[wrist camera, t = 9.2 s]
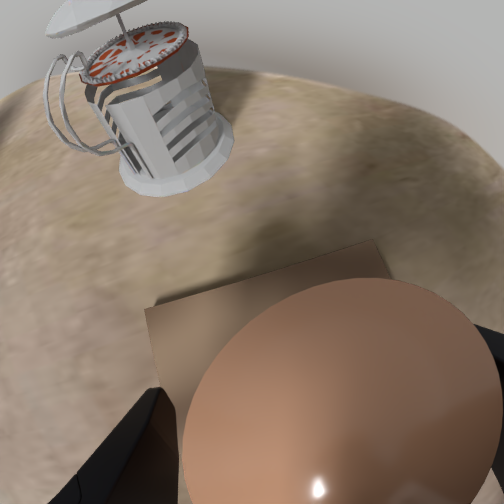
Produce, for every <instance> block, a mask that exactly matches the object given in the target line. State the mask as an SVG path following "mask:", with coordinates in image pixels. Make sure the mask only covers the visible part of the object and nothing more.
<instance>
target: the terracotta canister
mask: <svg viewBox="0 0 504 504" xmlns="http://www.w3.org/2000/svg"><path fill="white" fill-rule="evenodd" d="M502 417H503V401H502V389H501V384H500V378H499V373H498V370H497V367H496V364H495V361H494V358H493V356H492V354H491V352H490V350H489V348H488V346H487V344H486V342H485V340H484V339H483V337H482V336H481V334H480V333H479V331H478V330H477V328H476V327H475V326H474V325H473V323H472V322H471V321H470V320H469V319H468V318H467V317H466V316H465V315H464V314H463V313H462V312H461V311H460V310H458V309H457V308H456V307H455V306H454V305H452V304H451V303H450V302H448V301H447V300H445V299H443V298H442V297H440V296H438V295H437V294H435V293H433V292H431V291H429V290H426V289H424V288H421V287H419V286H417V285H413V284H409V283H406V282H402V281H398V280H391V279H382V278H353V279H346V280H338V281H333V282H329V283H325V284H322V285H318V286H314V287H311V288H309V289H306V290H304V291H301V292H299V293H296V294H294V295H291V296H289V297H288V298H286V299H284V300H282V301H280V302H278V303H277V304H275V305H273V306H271V307H269V308H268V309H267V310H265V311H264V312H262V313H261V314H260V315H258V316H257V317H255V318H254V319H253V320H251V321H250V322H249V323H248V324H247V325H246V326H244V327H243V328H242V329H241V330H240V331H239V332H238V333H237V334H236V335H234V336H233V337H232V339H231V340H230V341H229V342H228V343H227V344H226V345H225V347H224V348H223V349H222V350H221V351H220V352H219V353H218V355H217V356H216V357H215V359H214V360H213V362H212V363H211V365H210V366H209V368H208V369H207V371H206V372H205V374H204V376H203V378H202V380H201V382H200V384H199V386H198V388H197V390H196V392H195V394H194V396H193V399H192V402H191V405H190V408H189V411H188V414H187V418H186V423H185V429H184V434H183V451H182V461H183V468H184V476H185V481H186V485H187V488H188V491H189V494H190V498H191V500H192V502H193V504H471V502H472V501H473V500H474V498H475V497H476V495H477V494H478V492H479V490H480V488H481V487H482V485H483V483H484V482H485V479H486V477H487V475H488V473H489V471H490V468H491V466H492V464H493V461H494V458H495V455H496V451H497V448H498V444H499V439H500V434H501V429H502Z"/></svg>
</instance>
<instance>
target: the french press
mask: <svg viewBox="0 0 504 504" xmlns="http://www.w3.org/2000/svg"><path fill="white" fill-rule="evenodd" d="M145 1H147V0H67V1H66V2H65V3H64V4H63V5H62V6H61V7H60V8H59V9H58V10H57V12H56V13H55V14H54V16H53V18H52V20H51V21H50V23H49V25H48V27H47V29H46V33H45V34H46V36H48V37H50V38H63V37H66V36H69V35H72V34H74V33H77V32H80V31H83V30H85V29H87V28H89V27H91V26H93V25H95V24H97V23H100V22H102V21H104V20H106V19H108V18H111V17H113V16H115V15H116V17H117V19H118V22H119V24H120V26H121V29H122V31H123V35H122V34H120V36H119V37H117V36H116V37H115V39H111V40H110V41H107V44H104V45H103V46H101V47H100V48H99V49H96V50H95V51H94V52H93V53H92V55H90V57H88V59H86V58H85V56H84V55H83V53H82V52H79V51H77V52H75V53H74V54H72V55H71V56H70V58H69V60H68V59H67V58H66V56H65V55H61V54H60V55H59V56H57V57H56V58H55V59H54V61H53V62H52V65H51V67H50V69H49V71H48V73H47V75H46V77H45V83H44V91H43V100H44V107H45V113H46V117H47V120H48V123H49V126H50V127H51V128H52V130H53V131H54V132H55V134H56V135H57V136H58V137H59V139H60V140H61V141H62V142H63V143H65V144H66V145H68V146H69V147H71V148H72V149H75V150H78V151H82V152H87V151H88V152H90V153H93V154H95V155H98V156H103V155H109V154H114V153H116V152H119V153H120V155H121V157H120V166H119V172H120V174H121V176H122V179H123V181H124V183H125V185H126V186H127V187H129V188H131V189H132V190H134V191H135V192H137V193H138V194H140V195H146V196H155V197H166V196H170V195H174V194H178V193H182V192H187V191H189V190H191V189H193V188H194V187H196V186H198V185H199V184H201V183H203V182H205V181H206V180H208V179H210V178H211V177H212V176H213V175H214V174H215V173H216V172H217V171H218V170H219V169H220V167H221V166H222V165H223V164H224V163H225V162H226V161H227V160H228V157H229V154H230V152H231V149H232V146H233V143H234V137H233V132H232V127H231V124H230V123H229V122H228V121H227V120H226V119H225V118H224V117H223V116H222V115H221V114H220V113H218V112H215V110H214V106H213V104H212V98H211V94H210V92H209V86H208V83H207V79H206V78H205V70H204V67H203V63H202V59H201V55H200V52H199V48H198V45H197V44H196V43H194V42H193V41H191V40H189V39H188V36H189V34H188V27H186V26H184V25H183V24H181V23H179V22H168V21H167V22H162V23H161V22H159V23H155V24H152V23H151V25H148V24H147V25H146V26H142V27H140V28H139V27H138V28H137V29H133V30H132V31H130V30H128V32H126V30H125V27H124V25H123V22H122V20H121V17H120V14H119V13H121V12H123V11H125V10H127V9H130V8H132V7H134V6H136V5H139V4H141V3H143V2H145ZM77 56H79V57H80V59H81V61H82V63H83V66H82V67H73V66H72V65H71V64H72V62H73V60H74V58H75V57H77ZM59 59H62V60H63V61H64V62H65V64H66V67H65V69H64V72H63V74H62V76H61V83H60V94H59V101H60V109H61V113H62V116H63V119H64V123H65V126H66V129H67V131H68V132H69V133H70V135H71V136H72V137H73V139H74V140H75V141H76V142H77V144H78V145H79V146H78V145H76V144H73V143H71V142H69V141H68V139H67V138H66V137H65V136H64V135H63V134H62V133H61V131H60V130H59V129H58V128H57V127H56V126H55V125H54V122H53V119H52V116H51V113H50V109H49V102H48V87H49V79H50V75H51V73H52V71H53V68H54V66H55V64H56V61H58V60H59ZM156 66H157V67H158V68H157V69H155V70H153V71H151V72H149V73H148V74H145V75H142V76H139V77H135V76H138V75H140V74H142V73H144V72H146V71H148V70H150V69H152V68H153V67H156ZM69 69H70V70H72V71H75V72H77V71H80V73H79V76H80V79H81V82H83V83H85V84H87V86H86V89H85V96H86V98H87V101H88V103H89V104H90V106H91V108H92V109H93V111H94V113H95V114H96V116H97V118H98V119H99V121H100V122H101V124H102V126H103V127H104V129H105V130H106V132H107V134H108V135H109V137H110V138H111V139H109V140H107V141H105V142H103V143H101V144H99V145H96V146H94V147H89V146H88V145H86V144H84V143H83V142H81V140H80V139H79V137H78V136H77V134H76V133H75V131H74V130H73V128H72V127H71V125H70V124H69V120H68V116H67V113H66V109H65V105H64V90H65V81H66V74H67V72H68V70H69ZM159 75H161V77H162V81H160V82H158V83H156V84H154V85H152V86H149V87H146V88H143V89H140V90H136V91H133V92H130V93H126V94H123V95H120V96H116V97H115V98H114V99H113V100H112V101H111V102H110V103H109V104H108V105H105V106H106V108H107V109H106V114H105V118H104V116H103V114H102V112H101V111H102V107H103V103H104V100H105V98H106V97H107V96H109V95H110V94H111V93H112V92H113V91H115V90H119V89H122V88H126V87H130V86H134V85H137V84H140V83H143V82H146V81H149V80H151V79H153V78H155V77H157V76H159ZM133 77H135V78H133ZM130 78H132V79H130ZM128 79H129V80H128ZM202 80H203V81H204V82H205V83H206V84H207V85H206V86H204V85H203V83H202ZM110 84H111V85H110ZM103 85H109V86H108V87H107V88H106V89H104V90H103V91H102V92H101V94H100V97H99V101H98V104H97V105H96V104H94V97H95V93H96V90H97V87H98V86H103ZM207 94H208V96H209V97H210V98H211V99H210V100H209V99H208V98H207V97H206V95H207ZM140 96H141V97H140ZM133 98H134V99H133ZM129 99H131V100H129ZM126 100H128V101H126ZM123 101H125V102H123ZM169 101H171V103H169V104H167V105H165V104H166V103H168V102H169ZM120 102H122V103H120ZM119 103H120V104H119ZM164 105H165V106H164ZM211 107H212V109H213V111H212V110H210V108H211ZM110 115H111V117H112V118H113V124H112V129H111V128H110V126H109V120H110ZM117 127H118V129H119V130H120V131H119V137H118V139H117V138H116V135H115V134H116V129H117ZM108 143H113V144H114V146H115V147H116V149H114V150H111V151H103V152H101V151H98V150H97V149H99V148H101V147H103V146H104V145H106V144H108Z"/></svg>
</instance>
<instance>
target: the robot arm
mask: <svg viewBox="0 0 504 504" xmlns="http://www.w3.org/2000/svg"><path fill="white" fill-rule="evenodd" d="M473 325H474V326H475V327H476V328H477V330H478V331H479V333H480V334H481V336H482V337H483V339H484V340H485V342H486V344H487V346H488V348H489V350H490V352H491V354H492V356H493V358H494V361H495V364H496V367H497V370H498V373H499V378H500V384H501V389H502V401H503V417H502V429H501V434H500V439H499V444H498V448H497V451H496V455H495V458H494V461H493V464H492V466H491V468H492V470H493V472H494V474H495V476H496V478H497V480H498V482H499V484H500V486H501V487H502V488H501V489H502V491H503V493H504V334H502V333H499V332H496V331H493V330H490V329H487V328H484V327H481V326H478V325H475V324H473ZM178 473H179V451H178V437H177V422H176V410H175V407H174V405H173V403H172V401H171V400H170V398H169V396H168V395H167V393H166V391H165V390H164V389H163V388H162V387H156V388H149V389H147V390H146V391H145V393H144V394H143V395H142V396H141V397H140V398H139V400H138V401H137V402H136V403H135V404H134V406H133V407H132V408H131V409H130V410H129V412H128V413H127V414H126V415H125V416H124V417H123V419H122V420H121V421H120V422H119V423H118V425H117V426H116V427H115V428H114V429H113V430H112V432H111V433H110V434H109V435H108V436H107V437H106V439H105V440H104V441H103V442H102V443H101V445H100V446H99V447H98V448H97V449H96V450H95V452H94V453H93V454H92V455H91V456H90V457H89V459H88V460H87V461H86V462H85V463H84V464H83V466H82V467H81V468H80V469H79V470H78V471H77V474H75V475H74V476H73V477H72V478H71V479H70V481H69V482H68V483H67V484H66V485H65V486H64V487H63V488H62V490H61V491H60V492H59V493H58V494H57V495H56V496H55V497H54V498H53V499H52V500H51V501H50V502H49V503H48V504H178Z"/></svg>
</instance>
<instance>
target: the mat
mask: <svg viewBox="0 0 504 504" xmlns="http://www.w3.org/2000/svg"><path fill="white" fill-rule="evenodd" d="M353 278H382V279H390V277H389V274H388V272H387V270H386V267H385V265H384V263H383V261H382V258H381V256H380V254H379V252H378V249H377V247H376V245H375V243H374V241H373V239H371V240H368V241H365V242H362V243H359V244H356V245H353V246H350V247H347V248H344V249H341V250H338V251H334V252H331V253H328V254H325V255H322V256H319V257H316V258H313V259H310V260H306V261H303V262H300V263H297V264H294V265H291V266H287V267H284V268H281V269H278V270H275V271H271V272H268V273H265V274H262V275H258V276H255V277H252V278H249V279H245V280H242V281H239V282H236V283H232V284H229V285H226V286H222V287H219V288H216V289H212V290H209V291H205V292H202V293H199V294H195V295H192V296H188V297H185V298H182V299H178V300H175V301H171V302H168V303H164V304H161V305H157V306H154V307H150V308H147V309H144V310H145V316H146V321H147V327H148V332H149V337H150V342H151V347H152V351H153V356H154V361H155V365H156V369H157V374H158V378H159V382H160V386H161V387H162V388H163V389H164V390H165V391H166V393H167V395H168V396H169V398H170V400H171V401H172V403H173V405H174V407H175V410H176V422H177V437H178V449H179V452H180V455H181V458H182V451H183V434H184V429H185V423H186V418H187V414H188V411H189V408H190V405H191V402H192V399H193V396H194V394H195V392H196V390H197V388H198V386H199V384H200V382H201V380H202V378H203V376H204V374H205V372H206V371H207V369H208V368H209V366H210V365H211V363H212V362H213V360H214V359H215V357H216V356H217V355H218V353H219V352H220V351H221V350H222V349H223V348H224V347H225V345H226V344H227V343H228V342H229V341H230V340H231V339H232V337H233V336H234V335H236V334H237V333H238V332H239V331H240V330H241V329H242V328H243V327H244V326H246V325H247V324H248V323H249V322H250V321H251V320H253V319H254V318H255V317H257V316H258V315H260V314H261V313H262V312H264V311H265V310H267V309H268V308H269V307H271V306H273V305H275V304H277V303H278V302H280V301H282V300H284V299H286V298H288V297H289V296H291V295H294V294H296V293H299V292H301V291H304V290H306V289H309V288H311V287H314V286H318V285H322V284H325V283H329V282H333V281H338V280H346V279H353Z"/></svg>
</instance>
